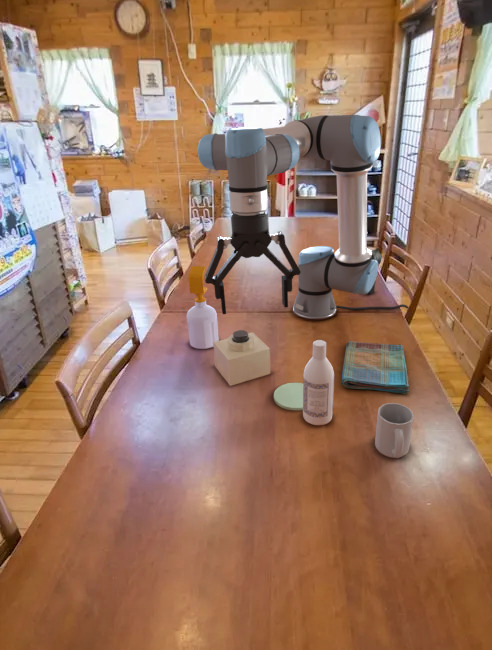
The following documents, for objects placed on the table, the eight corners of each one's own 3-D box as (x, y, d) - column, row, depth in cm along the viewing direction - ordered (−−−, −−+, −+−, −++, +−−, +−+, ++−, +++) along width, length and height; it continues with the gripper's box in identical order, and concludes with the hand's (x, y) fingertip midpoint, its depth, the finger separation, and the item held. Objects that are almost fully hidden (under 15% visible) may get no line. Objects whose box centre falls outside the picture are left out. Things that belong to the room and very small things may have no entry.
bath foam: (314, 404, 112) (316, 332, 103) (338, 415, 108) (341, 341, 99) (297, 418, 107) (297, 344, 99) (321, 430, 103) (323, 354, 94)
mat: (309, 382, 121) (310, 379, 120) (322, 406, 111) (323, 404, 111) (269, 388, 119) (269, 385, 118) (279, 413, 109) (279, 410, 109)
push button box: (253, 356, 134) (252, 325, 129) (270, 373, 125) (269, 341, 121) (215, 366, 129) (212, 335, 124) (230, 385, 120) (227, 353, 116)
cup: (405, 436, 101) (409, 403, 97) (415, 468, 92) (420, 434, 88) (372, 435, 101) (375, 402, 97) (379, 468, 92) (383, 433, 88)
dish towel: (340, 388, 118) (341, 380, 117) (345, 345, 139) (346, 338, 138) (408, 395, 115) (410, 386, 114) (403, 349, 136) (404, 342, 134)
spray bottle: (221, 336, 145) (215, 263, 135) (215, 350, 137) (208, 273, 127) (194, 335, 146) (186, 262, 136) (186, 349, 138) (177, 273, 128)
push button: (244, 335, 125) (244, 328, 124) (250, 341, 122) (250, 334, 121) (231, 338, 123) (230, 332, 123) (236, 345, 120) (236, 338, 119)
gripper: (186, 220, 85) (198, 321, 94) (314, 210, 89) (314, 309, 98) (185, 212, 92) (197, 307, 101) (305, 203, 96) (305, 296, 105)
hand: (254, 308), depth 100 cm, fingers open, 13 cm apart
